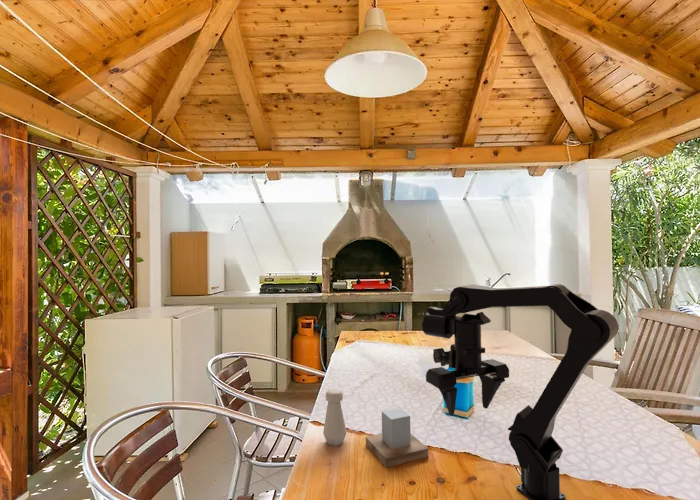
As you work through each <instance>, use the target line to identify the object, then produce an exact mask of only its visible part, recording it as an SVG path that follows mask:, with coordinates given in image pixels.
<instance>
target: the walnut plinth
mask: <svg viewBox="0 0 700 500" xmlns="http://www.w3.org/2000/svg"><path fill="white" fill-rule="evenodd" d="M410 437H411V445H409V446H404V447H400V448H396V449H391V448H390V447H389V446H388V445H387V444H386V443H385V442H384V441H383V440H382V432H380V433H377V434H373V435H368V436H365V446H366V447H367V448H368V449H369V450H370V451H371V453H372V454H373V455H374V456H376V458H377V459H378V460H379V461H380V462H381V463H382V464H383V466H384V467H385V468H390V467H394V466H397V465H401V464H406V463H409V462H414V461H418V460H422V459H425V458H429V448H428V447H427V446H426V445H425V444H424V443H422V442H421V441H420V440H419V439H418V438H416V437H415V436H414V435H413V433H411V432H410Z"/></svg>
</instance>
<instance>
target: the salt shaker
mask: <svg viewBox="0 0 700 500" xmlns="http://www.w3.org/2000/svg"><path fill="white" fill-rule="evenodd" d="M343 398H344V394H343V392H342V390H340V389H339V388H330V389H328V390H327V391H326V392H325V400H326V401H327V407H326V414H325V419H324V424H323V425H324V426H323V431H322V432H323V433H322V434H323V436H324V437H323V438H324V439H325V442H326V443H327V444H328V445H329V446H335V447H338V446H340V445H342V444H343V443H344V441H345V438H346V436H347V427H346V424H345V419H344V413H343V409H342V403H341V401H342V402H343Z"/></svg>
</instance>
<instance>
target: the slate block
mask: <svg viewBox="0 0 700 500" xmlns="http://www.w3.org/2000/svg"><path fill="white" fill-rule="evenodd" d="M381 433H382V440H383V441H384V442H385V443H386V444H387V445H388V446H389V447H390V448H391V449H396V448H400V447H404V446H409V445H411V437H410V433H411V415H410V414H409V413H407V412H406V411H405V410H403V409H402V408H400V407H397V408H392V409H386V410H382V411H381Z"/></svg>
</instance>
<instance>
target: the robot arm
mask: <svg viewBox="0 0 700 500" xmlns="http://www.w3.org/2000/svg"><path fill="white" fill-rule="evenodd" d="M505 307H506V308H507V307H509V308H510V307H511V308H512V307H549V308H550V309H551V310H552V311H553V312H554V313H555V315H556V316H557V317H558V318H559V320H560V321H561V322H562V323H563V324H564V325H565V326H566V327H568V329H570V331H569V332H570V333H569V336H568V340H567V347H566V351H565V353H564V355H563V357H562V358H561V360H560V362H559V364H558V366H557V367H556V369H555V371H554V372H553V374H552V376H551V378H550V379H549V381H548V383H546V386H545V387H544V389H543V391H542V392H541V395H540V396H539V398H538V399H537V401H536V403H535V405H534V406H533V408H532V406H530V404H528V405H526V406H525V407H524V408H523V409H521V410H520V411H519V412H517V414H516V415H515V417H514V421H513V423H512V424H511V425H510V426H509V427H508V428H507V430H508V431H510V432H509V434H508V441H509V443H510V446H511V448H512V450H513V451H514V454H515V455H516V459H517V461H518V462H517V463H518V465H519V467H520V476H521V477H520V482H521V483H520V484H517V485H516V490H518V491H519V492H520V493H522V494H523V495H524V496H526V497H527V498H528V499H529V500H566V497H567V496H566V494H564V493H563V492H561V491H560V489H561V488H560V485H561V484H560V482H561V481H560V468H559V467H558V466H557V464H556V462H557V461H558V460H560V459H561V457H562V454H563V453H564V449H563V448H562V447H561V445H560V444H559V443H558V442H557V440H555V438H554V437H553V436H552V435H553V432H554V430H555V429H554V428H555V422H556V418H557V416H558V414H559V412H560V411H561V410H562V407H563V406H564V404H565V403H566V401H567V400H568V398H569V397H570V394H571V393H572V391H573V390H574V388H575V387H576V385H577V383H578V382H579V380H580V379H581V377H582V376H583V374H584V372H585V371H586V369H587V367H588V366H589V364H590V363H591V361H592V360H593V359H594V358H595V357H596V356H597V355H598V354H600V352H602V350H603V349H604V348H605V347H606V346H607V345H608V344H609V343H610V342H611V341H612V340H613V339H614V338H615V337H616V336H617V334H618V333H619V329H620V325H619V323H618V320H617V319H616V317H614V315H613V314H612V313H610V311H609V312H608V311H606V310H604V309H598V308H597V307H596V306H594V305H593V304H592V303H591V302H589V301H587V300H585V298H582V297H580V296H579V295H577V294H575V293H574V292H573V291H571V290H570V289H569V288H568V287H566V286H565V285H563V284H560V283H559V284H558V283H557V284H552V285H541V286H540V285H539V286H537V285H536V286H522V287H521V286H520V287H501V288H496V287H490V286H486V285H479V284H469V285H468V284H467V285H463V286H457V287H454V288H453V289H452V291H451V292H450V295H449V300H448V301H447V302H446V304H444V307H443V308H440V307H437V306H429V307H426V310H427V311H426V313H425V315H424V317H423V319H422V321H421V328H422V332H423V333H424V335H426V336H432V337H437V338H443V339H448V340H449V339H451V338H452V337H454V343H453V344H450V350H447V351H445V350H444V348H443V347H441V348H434V349H433V354H432V357H433V361H434V363H435V364H439V363H440V367H434V368H433V367H431V368H429V369H427V370H426V373H425V382H426V383H429V384H430V385H431V386H434V387H435V388H437V389H438V391H440V394H441V396H442V398H443V401H444V403H445V406H446V408H447V412H448V414H449V416H450V417H451V416H452V417H454V415H455V411H456V405H457V404H456V403H457V395H458V387H455V386H456V385H457V380H461V379H467V378H473V377H479V380H480V382H481V401H482V403H481V404H482V407H483V409H488V408H489V406H490V404H491V403H492V401H493V399H494V396H495V394H496V393H497V391H498V390H499V388H500V386H501V385H502V384H503V383H505V382H506V379H509V378H510V369H509V367H508V365H507V364H506V363H504V362H502V361H498V360H496V359H493V358H492V359H491V358H489V359H485V360H482V354H485V353H486V347H482V325H483V326H485V325H487V324H489V323H491V321H492V320H491V319H490V318H489V317H488V316H487V315H486V314H485V313H484V312H483V311H481V312H477V313H476V314H472V312H476V311H479V310H483V309H484V310H485V309H490V308H505ZM459 314H463V315H462V316H458V315H459ZM447 365H448V367H449V368H450V369H454V370H449V369H446V368H445V366H447Z"/></svg>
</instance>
